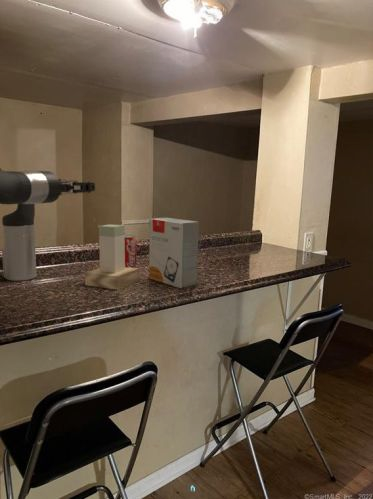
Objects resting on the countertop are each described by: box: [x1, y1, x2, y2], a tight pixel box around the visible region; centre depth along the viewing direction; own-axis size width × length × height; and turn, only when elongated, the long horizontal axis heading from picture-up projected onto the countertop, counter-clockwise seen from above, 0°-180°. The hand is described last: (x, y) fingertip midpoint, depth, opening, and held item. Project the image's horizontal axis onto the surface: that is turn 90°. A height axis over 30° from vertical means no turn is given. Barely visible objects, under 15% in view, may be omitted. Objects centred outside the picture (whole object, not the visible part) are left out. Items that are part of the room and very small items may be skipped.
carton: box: [98, 224, 126, 273], centre depth 121 cm, size 6×6×14 cm
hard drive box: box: [148, 217, 200, 289], centre depth 124 cm, size 16×8×20 cm, turn 45°
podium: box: [84, 267, 140, 291], centre depth 122 cm, size 12×12×4 cm
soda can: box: [125, 234, 138, 269], centre depth 136 cm, size 7×7×13 cm
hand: (80, 186), depth 105 cm, fingers open, 8 cm apart
